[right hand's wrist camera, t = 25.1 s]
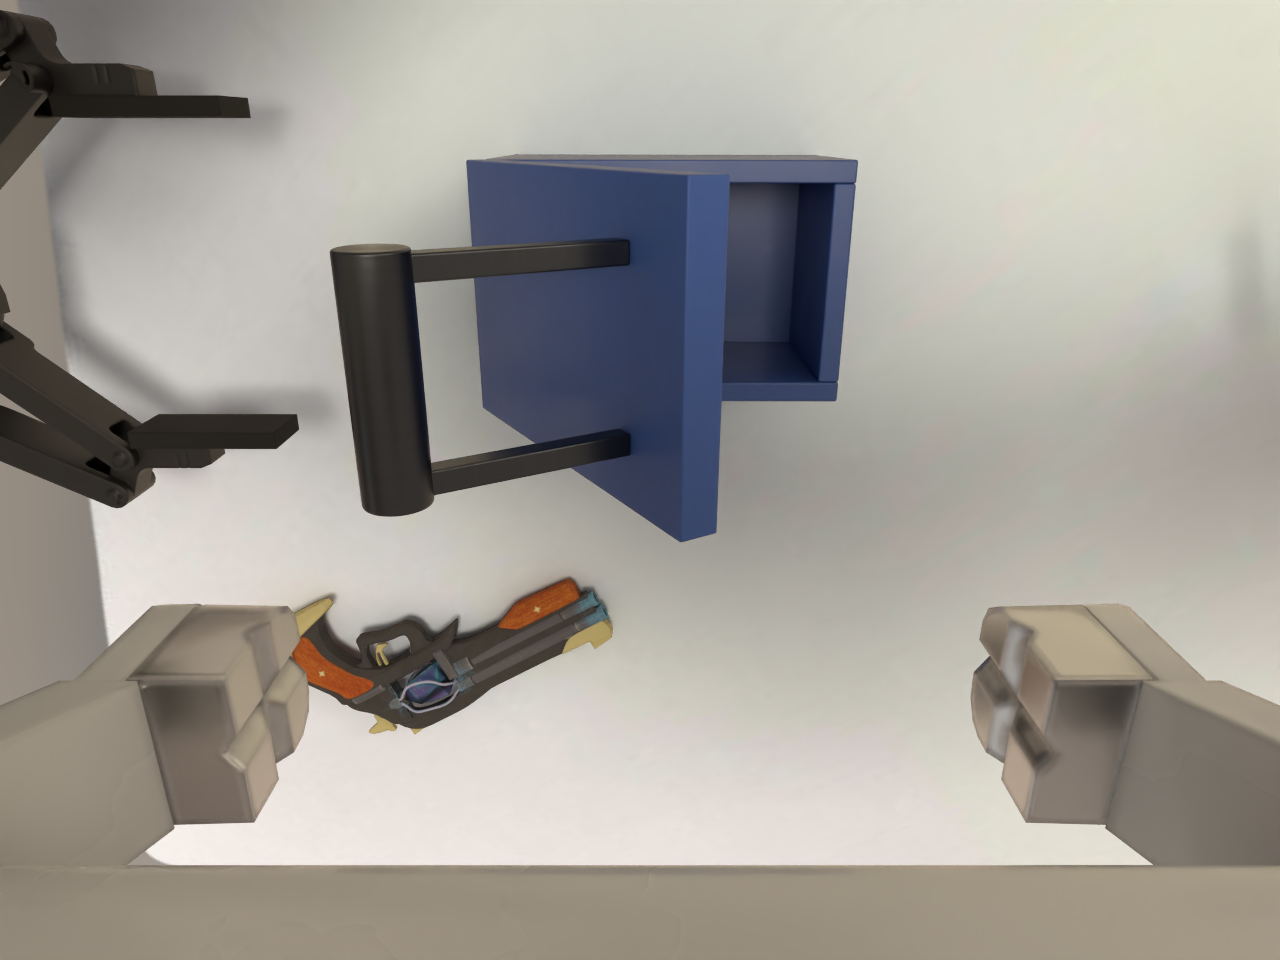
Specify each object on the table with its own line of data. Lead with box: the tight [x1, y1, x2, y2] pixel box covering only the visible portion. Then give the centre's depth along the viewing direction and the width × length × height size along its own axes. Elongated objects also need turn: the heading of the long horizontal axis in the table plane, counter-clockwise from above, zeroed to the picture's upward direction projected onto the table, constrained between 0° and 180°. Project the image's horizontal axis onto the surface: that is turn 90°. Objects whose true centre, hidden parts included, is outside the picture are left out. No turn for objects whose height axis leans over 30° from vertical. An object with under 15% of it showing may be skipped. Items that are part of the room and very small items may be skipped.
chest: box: [486, 155, 858, 401], centre depth 40 cm, size 15×10×9 cm
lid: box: [330, 160, 730, 542], centre depth 27 cm, size 15×10×9 cm
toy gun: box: [290, 579, 613, 734], centre depth 51 cm, size 3×19×10 cm
